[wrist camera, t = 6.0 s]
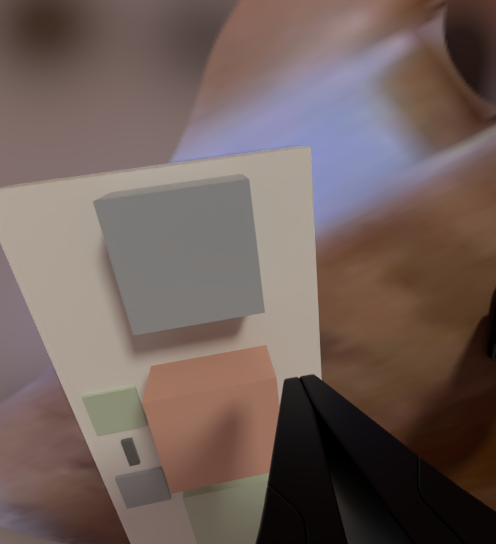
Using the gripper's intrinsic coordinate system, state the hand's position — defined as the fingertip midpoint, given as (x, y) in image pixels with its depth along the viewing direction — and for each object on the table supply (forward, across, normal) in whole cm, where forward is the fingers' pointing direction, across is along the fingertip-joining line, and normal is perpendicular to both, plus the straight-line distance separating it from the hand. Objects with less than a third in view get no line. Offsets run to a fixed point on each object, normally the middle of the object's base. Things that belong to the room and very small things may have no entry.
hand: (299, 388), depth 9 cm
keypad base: (+11, +4, +10) cm, 15 cm away
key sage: (+8, +3, +14) cm, 16 cm away
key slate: (+8, +3, -2) cm, 8 cm away
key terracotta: (+6, +3, +6) cm, 9 cm away
